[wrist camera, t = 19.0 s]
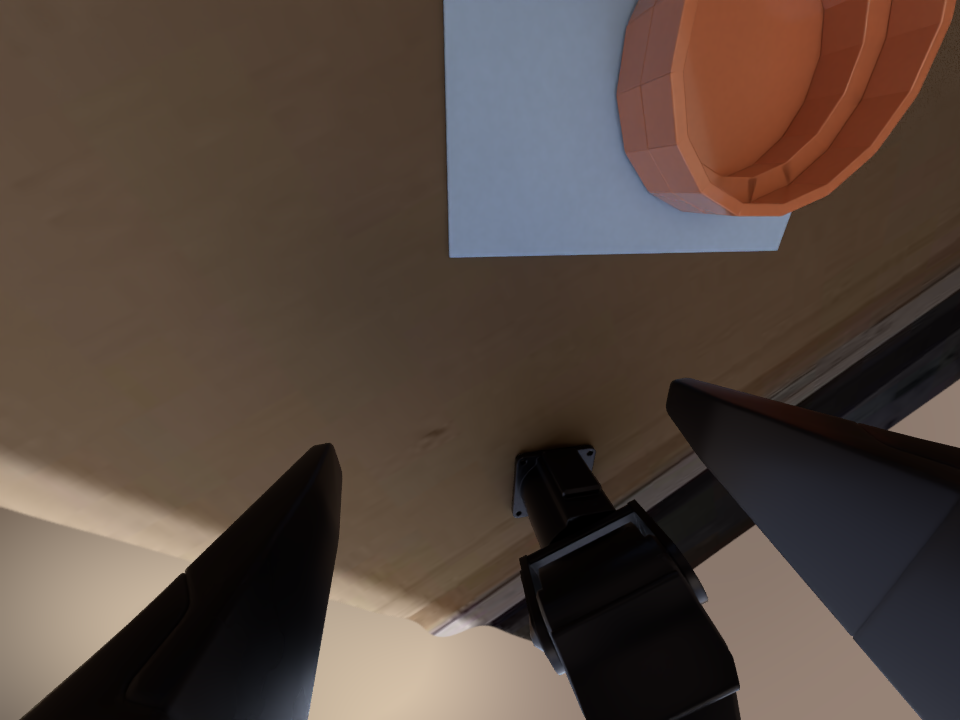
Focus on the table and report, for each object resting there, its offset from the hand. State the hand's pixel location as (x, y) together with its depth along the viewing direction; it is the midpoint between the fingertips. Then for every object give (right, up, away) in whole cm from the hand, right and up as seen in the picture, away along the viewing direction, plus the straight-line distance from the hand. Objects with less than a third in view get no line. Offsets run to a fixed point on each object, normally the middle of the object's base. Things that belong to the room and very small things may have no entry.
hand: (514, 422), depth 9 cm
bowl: (+12, +17, +9) cm, 23 cm away
